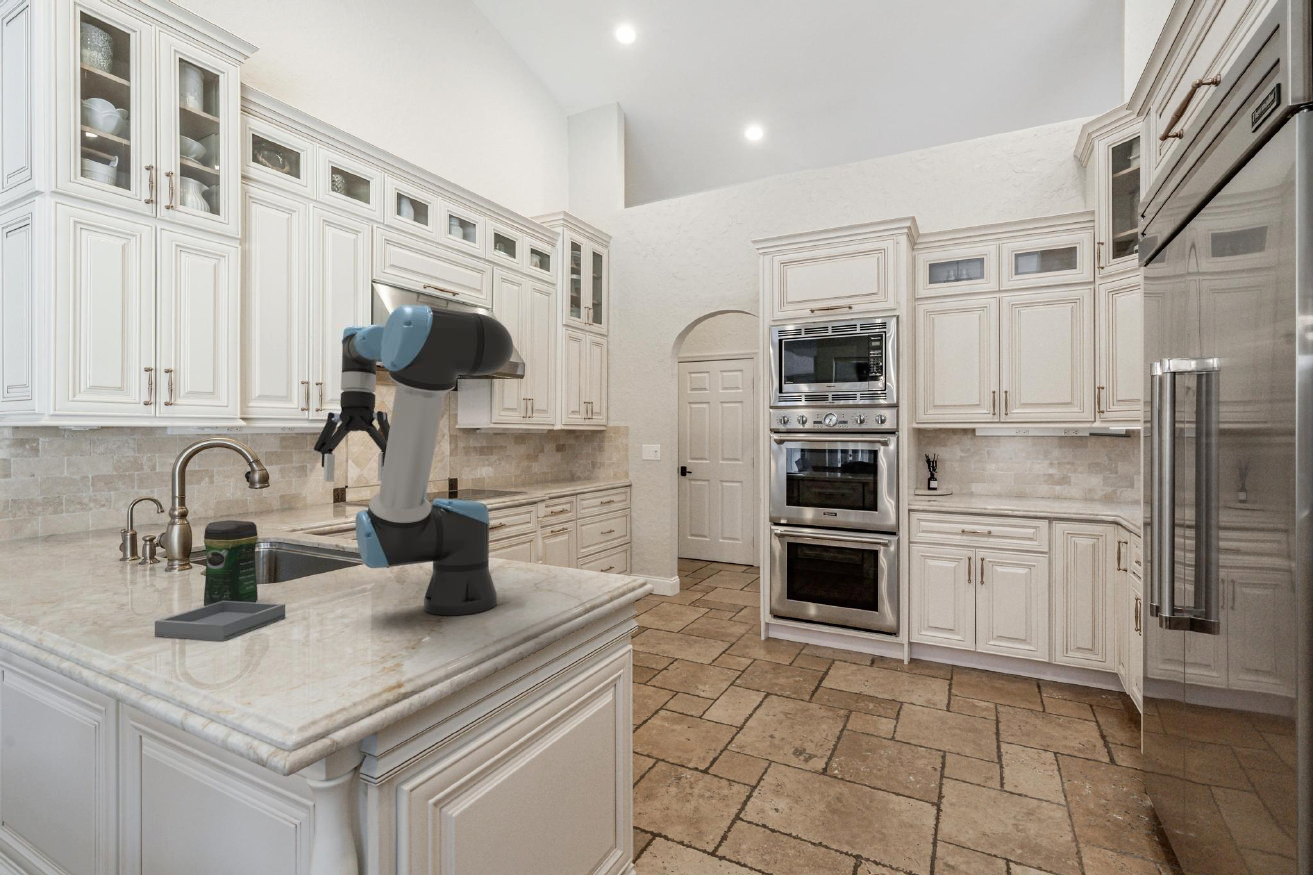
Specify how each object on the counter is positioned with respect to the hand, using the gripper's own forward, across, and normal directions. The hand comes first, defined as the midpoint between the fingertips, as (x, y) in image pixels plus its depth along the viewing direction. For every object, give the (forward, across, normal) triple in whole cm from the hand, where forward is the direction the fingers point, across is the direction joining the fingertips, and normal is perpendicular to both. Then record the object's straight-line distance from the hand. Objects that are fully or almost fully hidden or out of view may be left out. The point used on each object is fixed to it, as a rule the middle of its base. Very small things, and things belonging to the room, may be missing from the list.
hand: (355, 481), depth 147 cm
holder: (+28, +10, +26) cm, 39 cm away
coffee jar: (+27, +20, +12) cm, 36 cm away
